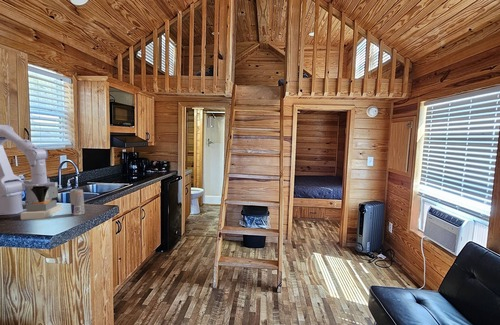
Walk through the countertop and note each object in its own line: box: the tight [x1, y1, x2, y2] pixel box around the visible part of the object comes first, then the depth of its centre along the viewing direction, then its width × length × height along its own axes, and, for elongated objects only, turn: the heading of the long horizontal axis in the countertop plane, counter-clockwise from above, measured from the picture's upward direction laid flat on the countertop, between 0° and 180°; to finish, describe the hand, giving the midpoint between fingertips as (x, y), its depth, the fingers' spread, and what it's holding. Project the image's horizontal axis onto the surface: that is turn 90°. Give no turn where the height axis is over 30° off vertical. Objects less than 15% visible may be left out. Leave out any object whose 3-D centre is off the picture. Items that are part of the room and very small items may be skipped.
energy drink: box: [69, 188, 86, 217], centre depth 127 cm, size 5×5×12 cm
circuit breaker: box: [23, 177, 59, 207], centre depth 143 cm, size 8×14×15 cm, turn 174°
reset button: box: [32, 200, 51, 204], centre depth 127 cm, size 5×5×2 cm
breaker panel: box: [19, 199, 63, 221], centre depth 127 cm, size 10×14×6 cm
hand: (41, 201), depth 127 cm, fingers closed, pressing on reset button
